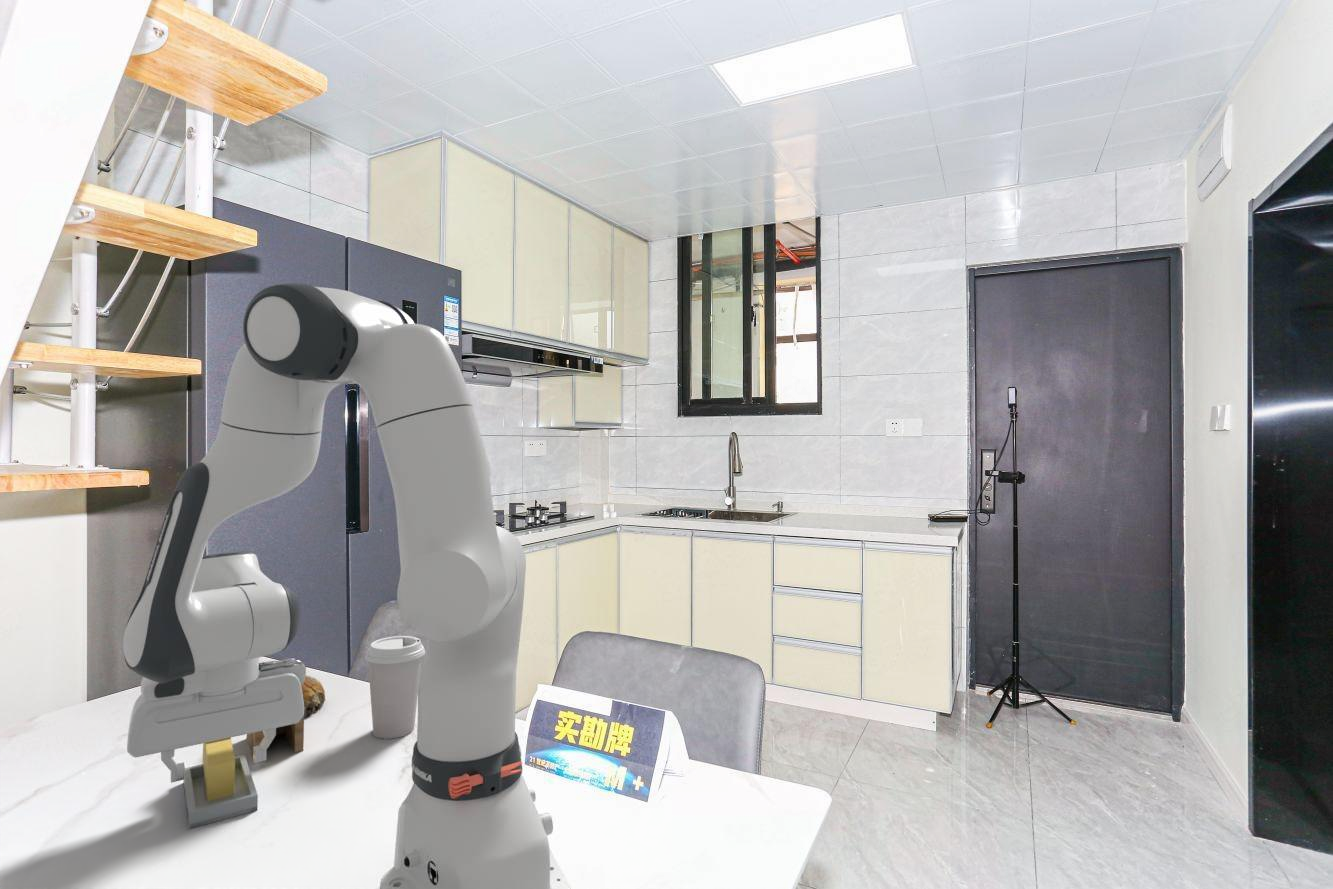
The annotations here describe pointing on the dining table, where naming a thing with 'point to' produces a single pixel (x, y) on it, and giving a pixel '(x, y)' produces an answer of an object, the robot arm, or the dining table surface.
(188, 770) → the tray
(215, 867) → the dining table surface
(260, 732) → the dispenser
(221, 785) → the yellow rectangular block
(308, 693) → the bread roll
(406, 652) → the coffee cup
